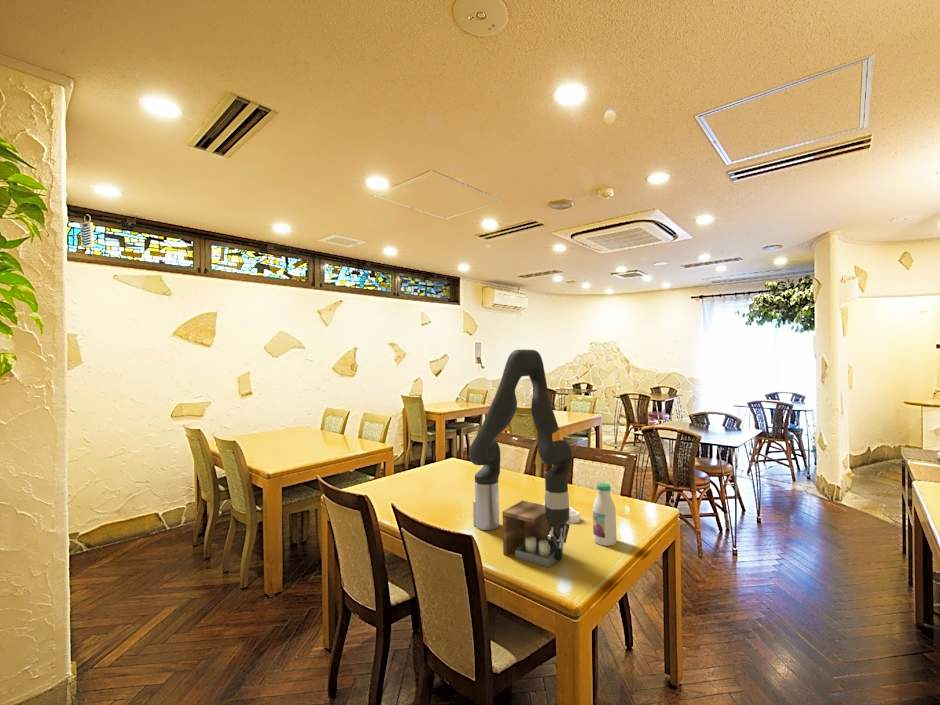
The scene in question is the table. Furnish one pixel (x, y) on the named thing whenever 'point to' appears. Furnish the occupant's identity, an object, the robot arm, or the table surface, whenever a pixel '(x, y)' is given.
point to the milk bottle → (604, 517)
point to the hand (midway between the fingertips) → (558, 559)
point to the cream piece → (544, 548)
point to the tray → (535, 556)
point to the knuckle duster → (573, 515)
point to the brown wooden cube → (523, 524)
